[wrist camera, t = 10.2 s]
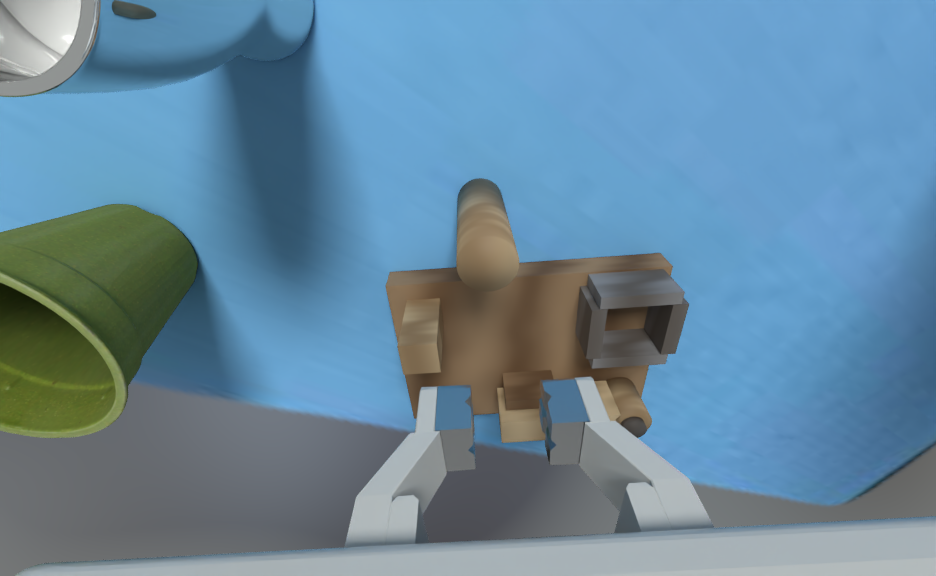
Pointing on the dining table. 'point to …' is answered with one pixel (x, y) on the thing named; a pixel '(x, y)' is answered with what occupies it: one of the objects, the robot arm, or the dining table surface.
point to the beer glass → (138, 41)
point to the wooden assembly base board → (536, 326)
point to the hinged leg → (615, 396)
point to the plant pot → (83, 314)
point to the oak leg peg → (484, 238)
